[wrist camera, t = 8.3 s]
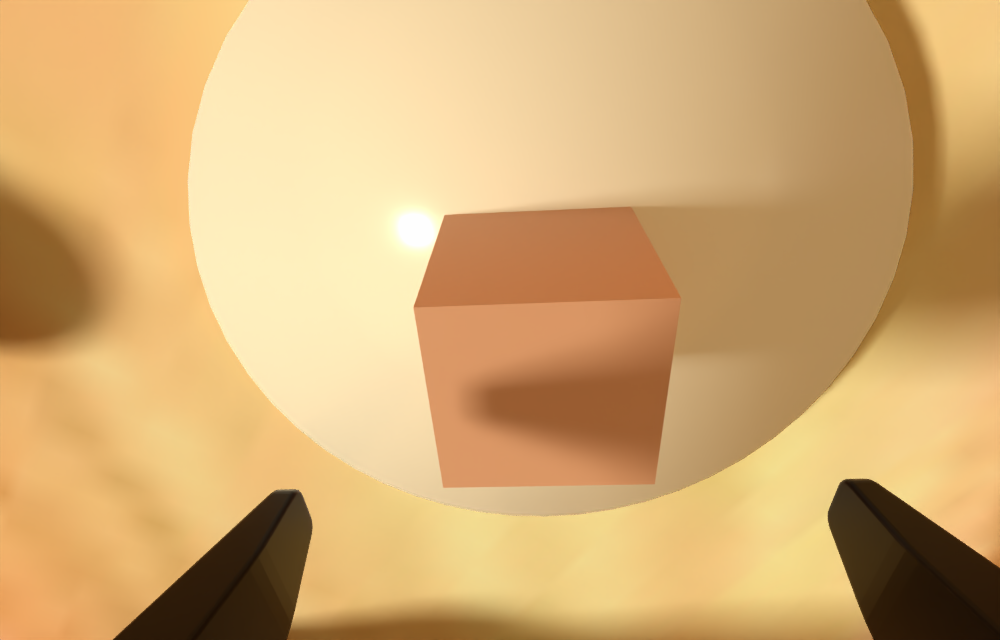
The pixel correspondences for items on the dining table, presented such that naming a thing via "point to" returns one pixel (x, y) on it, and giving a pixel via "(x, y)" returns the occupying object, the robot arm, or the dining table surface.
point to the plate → (549, 201)
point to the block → (546, 348)
